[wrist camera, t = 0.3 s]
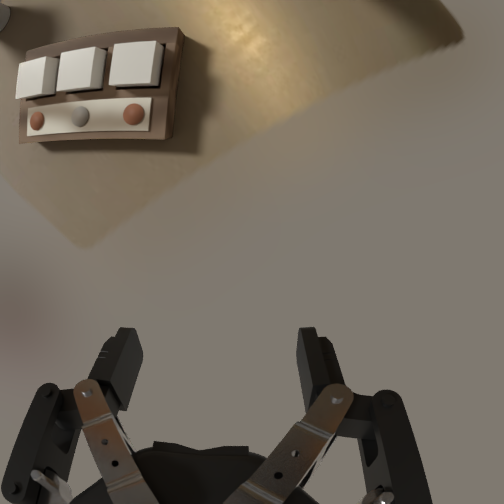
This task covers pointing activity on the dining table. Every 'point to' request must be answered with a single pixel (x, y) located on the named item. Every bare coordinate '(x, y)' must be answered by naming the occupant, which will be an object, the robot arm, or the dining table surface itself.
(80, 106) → the button panel
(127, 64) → the button
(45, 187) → the dining table surface
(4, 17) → the coffee cup
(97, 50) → the button
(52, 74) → the button
